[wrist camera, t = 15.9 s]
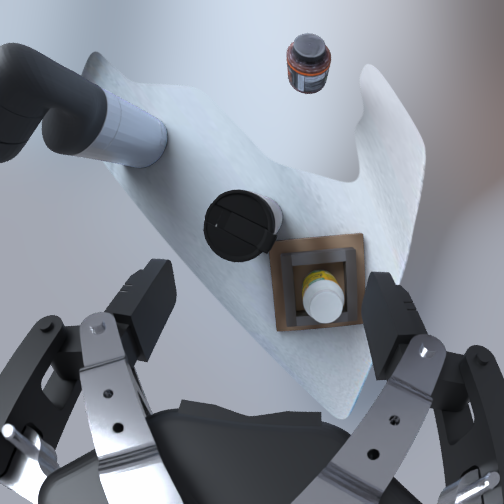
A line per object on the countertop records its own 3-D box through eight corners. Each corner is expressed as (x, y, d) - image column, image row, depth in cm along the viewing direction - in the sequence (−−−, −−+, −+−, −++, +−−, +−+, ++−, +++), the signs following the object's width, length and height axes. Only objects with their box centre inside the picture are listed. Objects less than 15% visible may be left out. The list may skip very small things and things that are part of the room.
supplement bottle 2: (318, 310, 43) (324, 337, 34) (293, 286, 43) (293, 309, 34) (344, 285, 42) (357, 307, 32) (319, 261, 42) (326, 277, 32)
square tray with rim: (277, 327, 46) (275, 338, 42) (268, 241, 44) (266, 244, 40) (363, 319, 44) (368, 329, 40) (360, 233, 42) (366, 235, 38)
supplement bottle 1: (286, 64, 39) (283, 27, 28) (323, 63, 38) (329, 26, 27) (289, 96, 40) (287, 63, 29) (328, 95, 39) (337, 63, 28)
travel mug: (273, 246, 44) (256, 278, 24) (234, 226, 44) (187, 243, 25) (291, 208, 43) (290, 210, 23) (252, 189, 43) (217, 176, 23)
